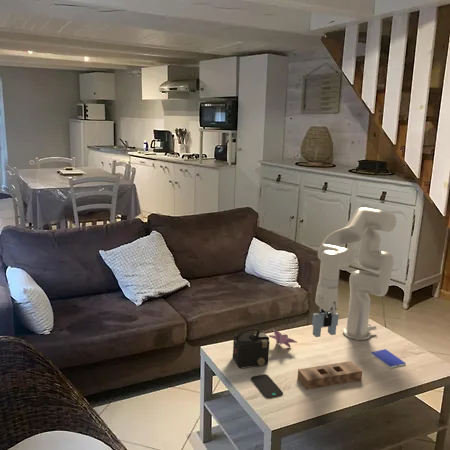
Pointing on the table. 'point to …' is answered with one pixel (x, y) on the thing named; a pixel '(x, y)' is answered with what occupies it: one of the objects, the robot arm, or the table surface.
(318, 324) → the light blue arch block
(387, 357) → the hard drive
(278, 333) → the lily
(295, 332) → the table surface
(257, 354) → the camera
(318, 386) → the brown block with holes
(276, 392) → the smartphone
